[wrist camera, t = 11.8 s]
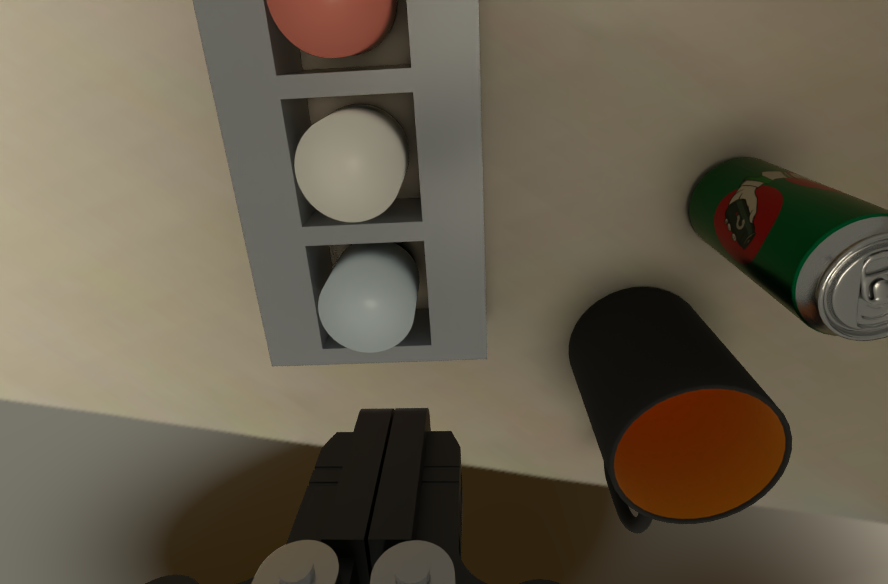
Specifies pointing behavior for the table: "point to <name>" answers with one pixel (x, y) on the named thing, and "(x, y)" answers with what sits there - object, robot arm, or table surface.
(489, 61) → the table surface
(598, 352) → the mug
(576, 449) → the table surface
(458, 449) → the robot arm
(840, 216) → the soda can
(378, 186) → the beige rounded block
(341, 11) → the red rounded block
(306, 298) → the three-slot peg holder
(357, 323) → the pale blue rounded block
